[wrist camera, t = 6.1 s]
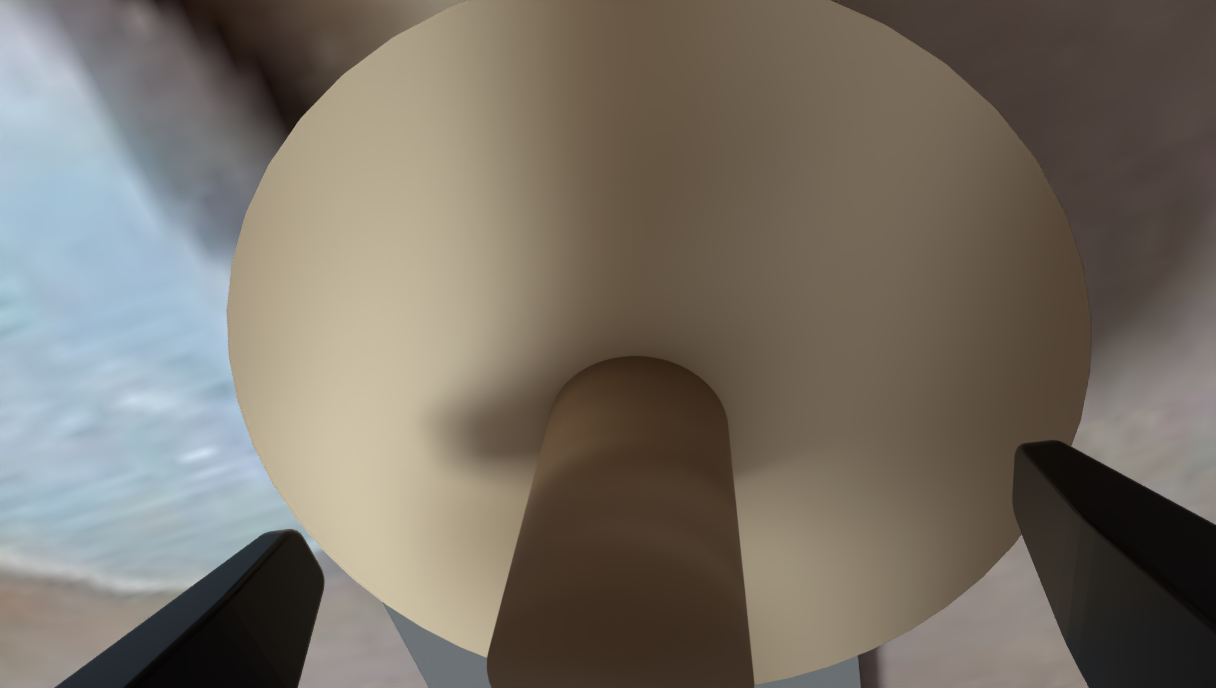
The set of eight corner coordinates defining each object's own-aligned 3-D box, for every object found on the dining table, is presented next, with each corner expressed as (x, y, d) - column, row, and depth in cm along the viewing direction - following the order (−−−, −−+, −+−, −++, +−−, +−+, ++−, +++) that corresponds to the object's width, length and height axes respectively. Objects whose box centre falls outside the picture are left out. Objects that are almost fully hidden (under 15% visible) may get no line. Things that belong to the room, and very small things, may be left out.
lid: (1105, -171, 7) (1684, -305, 3) (1037, 628, 13) (1207, 958, 9) (97, 91, 9) (-359, 222, 5) (417, 675, 15) (320, 958, 11)
